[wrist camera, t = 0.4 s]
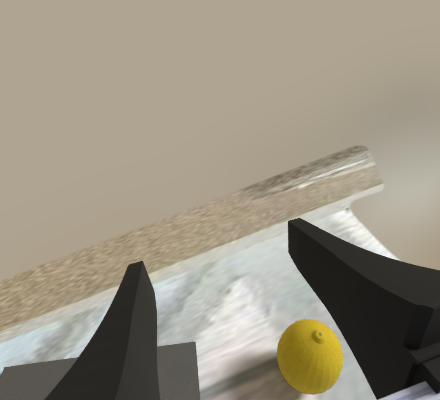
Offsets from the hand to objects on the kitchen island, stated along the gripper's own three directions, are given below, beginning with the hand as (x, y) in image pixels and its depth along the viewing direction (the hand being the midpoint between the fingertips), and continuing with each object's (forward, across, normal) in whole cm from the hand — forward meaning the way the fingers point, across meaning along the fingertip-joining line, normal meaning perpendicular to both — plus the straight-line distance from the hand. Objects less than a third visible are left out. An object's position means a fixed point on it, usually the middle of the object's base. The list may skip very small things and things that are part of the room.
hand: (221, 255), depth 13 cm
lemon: (+3, -6, +21) cm, 22 cm away
